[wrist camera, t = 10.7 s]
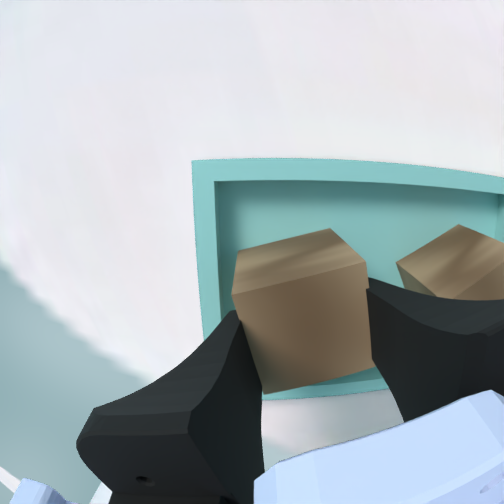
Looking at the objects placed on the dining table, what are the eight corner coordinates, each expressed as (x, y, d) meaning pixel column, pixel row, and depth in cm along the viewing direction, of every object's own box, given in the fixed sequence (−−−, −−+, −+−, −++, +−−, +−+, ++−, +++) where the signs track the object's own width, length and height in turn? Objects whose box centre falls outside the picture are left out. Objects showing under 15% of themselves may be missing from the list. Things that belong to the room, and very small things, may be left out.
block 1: (330, 227, 13) (365, 261, 9) (344, 309, 14) (375, 366, 10) (237, 250, 13) (231, 294, 9) (260, 330, 14) (263, 395, 10)
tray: (505, 178, 12) (524, 181, 11) (470, 353, 16) (483, 367, 14) (199, 160, 12) (191, 160, 11) (214, 379, 16) (210, 399, 14)
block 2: (458, 224, 13) (518, 249, 9) (472, 288, 14) (522, 325, 10) (395, 262, 13) (445, 303, 9) (415, 325, 14) (457, 375, 10)
